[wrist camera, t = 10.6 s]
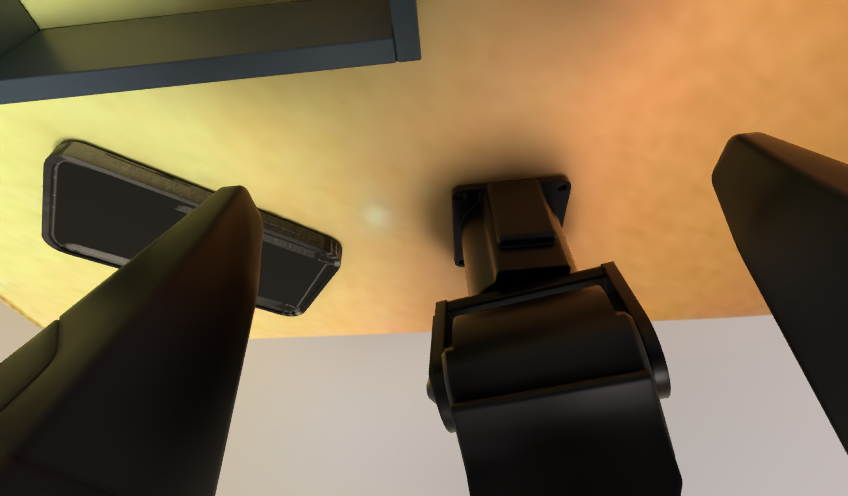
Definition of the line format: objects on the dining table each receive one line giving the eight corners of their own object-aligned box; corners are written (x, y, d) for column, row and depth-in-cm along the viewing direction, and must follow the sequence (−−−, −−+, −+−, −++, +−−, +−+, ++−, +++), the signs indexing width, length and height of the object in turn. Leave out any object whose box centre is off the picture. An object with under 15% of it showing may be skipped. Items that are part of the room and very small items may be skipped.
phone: (298, 319, 30) (40, 247, 24) (300, 306, 31) (51, 232, 25) (348, 257, 26) (43, 145, 19) (349, 243, 26) (57, 131, 20)
